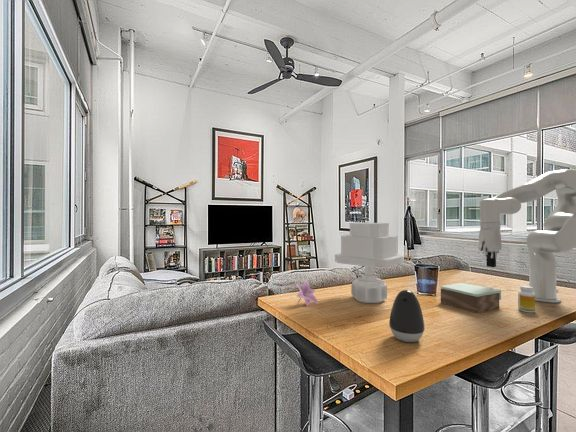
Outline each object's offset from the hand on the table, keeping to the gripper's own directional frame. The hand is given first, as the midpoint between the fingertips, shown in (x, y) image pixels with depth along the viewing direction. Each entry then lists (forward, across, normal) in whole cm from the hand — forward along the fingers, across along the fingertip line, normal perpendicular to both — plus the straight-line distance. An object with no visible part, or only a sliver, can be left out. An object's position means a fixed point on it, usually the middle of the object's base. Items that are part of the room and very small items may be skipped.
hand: (491, 266), depth 136 cm
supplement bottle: (+16, +2, +15) cm, 22 cm away
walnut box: (+15, +16, 0) cm, 22 cm away
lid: (+12, +15, 0) cm, 19 cm away
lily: (+13, +78, -33) cm, 86 cm away
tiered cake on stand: (+14, +48, -27) cm, 57 cm away
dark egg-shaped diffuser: (+14, +68, +13) cm, 71 cm away
